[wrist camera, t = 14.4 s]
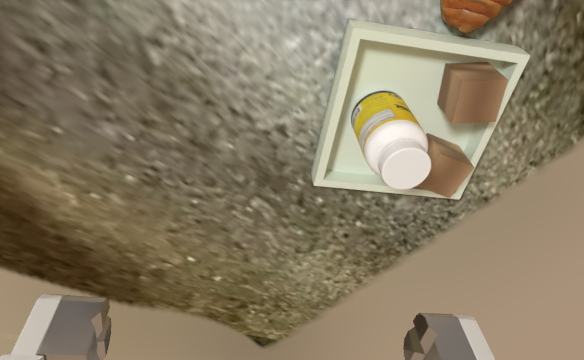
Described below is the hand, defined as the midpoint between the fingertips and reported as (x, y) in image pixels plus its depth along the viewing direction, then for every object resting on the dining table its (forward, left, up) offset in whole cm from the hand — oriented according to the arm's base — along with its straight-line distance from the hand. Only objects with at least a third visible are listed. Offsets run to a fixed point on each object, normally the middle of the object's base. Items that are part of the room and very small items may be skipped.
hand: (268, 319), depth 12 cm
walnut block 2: (+20, -12, -30) cm, 38 cm away
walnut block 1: (+20, -4, -30) cm, 37 cm away
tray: (+16, -8, -31) cm, 36 cm away
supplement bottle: (+13, -8, -31) cm, 34 cm away
